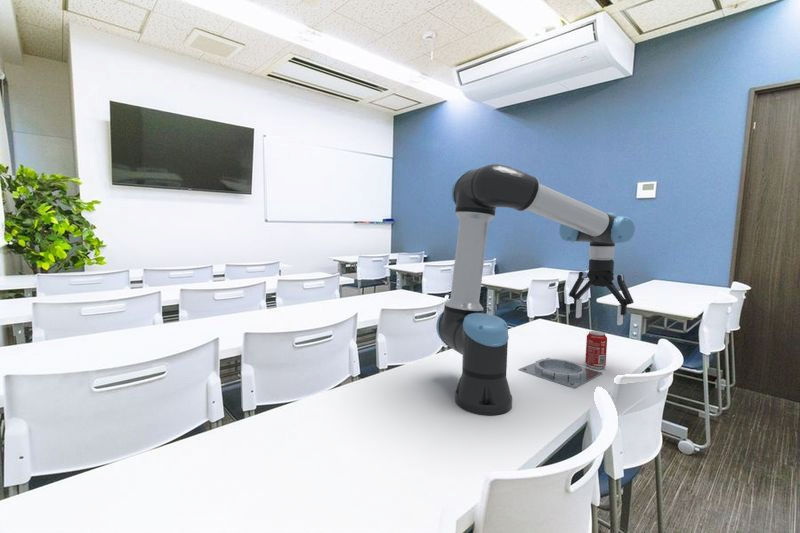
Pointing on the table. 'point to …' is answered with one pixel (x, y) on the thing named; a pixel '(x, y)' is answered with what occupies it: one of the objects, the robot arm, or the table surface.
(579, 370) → the duct flange
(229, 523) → the table surface
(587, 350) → the beverage can
